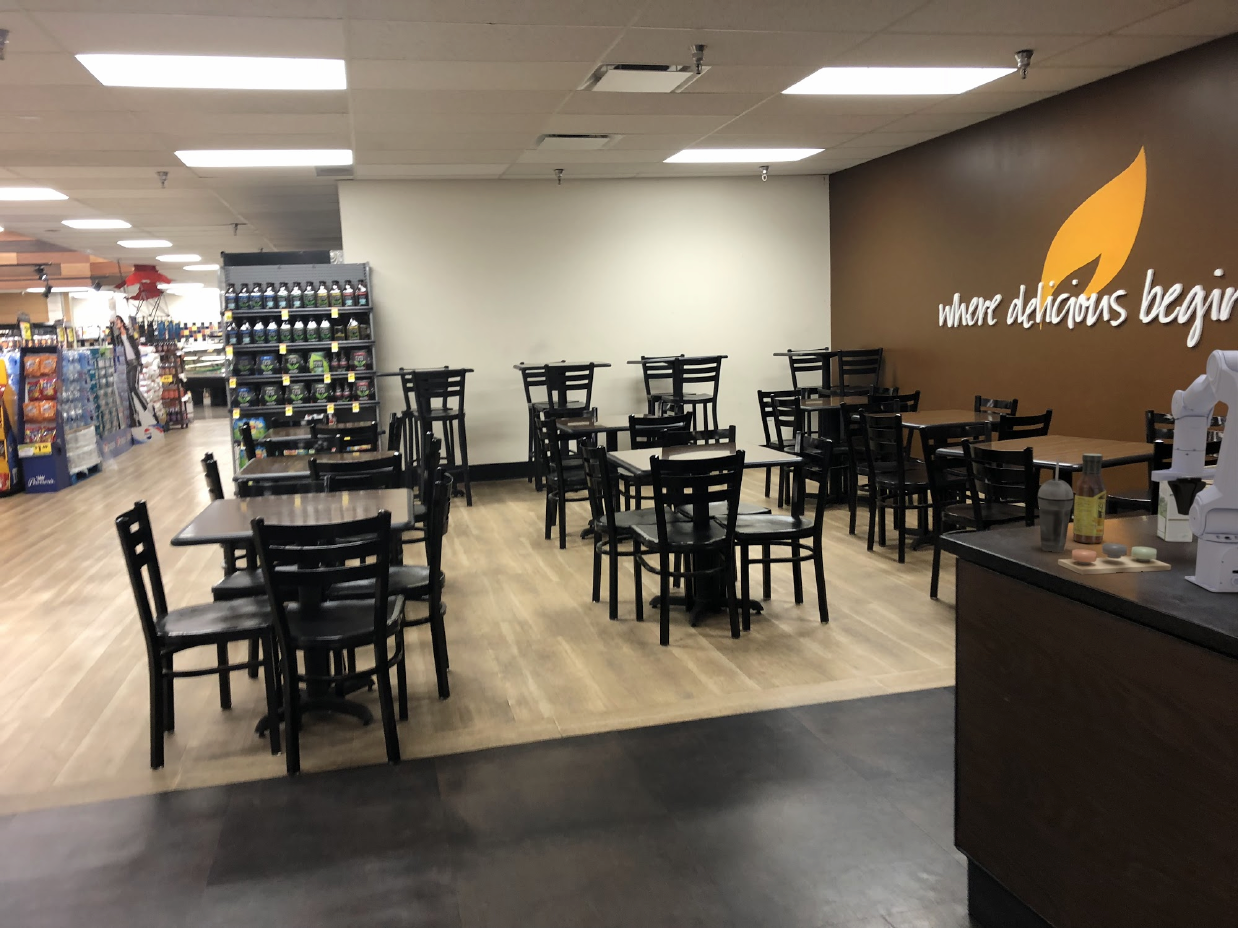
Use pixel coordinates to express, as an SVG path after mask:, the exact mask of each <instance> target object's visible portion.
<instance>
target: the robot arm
mask: <svg viewBox="0 0 1238 928" xmlns="http://www.w3.org/2000/svg"><path fill="white" fill-rule="evenodd" d="M1205 370H1206V372H1205V373H1206V374H1200V375H1199V377H1197V378H1196V379H1195V380H1194V381H1193V382H1192V383H1191V384H1190V385H1189V386H1188V387H1187V389H1185V390H1180V389H1177V390H1175V392H1174V393H1173V395H1172V400H1171V407H1170V408H1171V414H1172V418H1173V419H1174V430H1173V445H1172V458H1171V459H1172V461H1171V467H1170V468H1169V469H1162V470H1161V469H1160V470H1152V471H1151V481H1154V482H1157V483H1158V482H1159V483H1160V482H1162V481H1168V482H1167V483H1168V485H1169V487H1170V489H1171V491H1172V493H1173V495H1174V498H1175V501H1176V506H1177V511H1178V514H1181V515H1189V527H1190V529H1191V531H1192V535H1195V536H1196V537H1198V538H1197V550H1196V551H1197V553H1196V564H1195V575H1190V576H1189V575H1187V576H1184V579H1185V580H1187V581H1189V582H1191V583H1193V584H1196V585H1198V586H1200V587H1202V588H1203V589H1205V590H1208V591H1210V592H1212V593H1238V350H1220V349H1215V350H1213V351H1212V352H1211V353H1210V355H1209V356H1208V358H1207V361H1206V369H1205ZM1219 401H1220V402H1222V403H1223V404H1226V406H1227V407H1228V410H1227V414H1226V420H1225V424H1224V428H1223V434H1222V439H1221V443H1220V448H1219V453H1218V459H1217V462H1216V468H1205V461H1206V448H1207V433H1208V429H1209V428H1211V421H1212V418H1213V413H1214V412H1215V411H1214V410H1215V405H1216V404H1218V402H1219ZM1182 476H1183V477H1182ZM1203 480H1204V481H1203ZM1205 480H1213V483H1212V484H1211V485H1210V486H1208V487H1207V482H1206V481H1205Z"/></svg>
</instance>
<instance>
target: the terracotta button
mask: <svg viewBox="0 0 1238 928" xmlns="http://www.w3.org/2000/svg"><path fill="white" fill-rule="evenodd" d="M1071 551H1072V552H1071V559H1073V560H1075V561H1077V563H1078V564H1081V565H1090V564H1091V562H1095V561H1096V558H1098V557H1097V554H1098V553H1097V551H1095V550H1091V549H1083V548H1081V549H1080V548H1078V549H1077V548H1076V549H1072V550H1071Z"/></svg>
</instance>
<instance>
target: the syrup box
mask: <svg viewBox="0 0 1238 928" xmlns="http://www.w3.org/2000/svg"><path fill="white" fill-rule="evenodd" d="M1182 477H1183V476H1182ZM1167 482H1168V481H1162V482H1159V490H1158V491H1159V492H1158V506H1157V507H1158V509H1157V510H1158V511H1157V525H1156V526H1157V527H1156V536H1157V537H1159V538H1160V539H1162V540H1163V541H1165V542H1172V543H1192V541H1193V532H1192V531H1191V529H1190V527H1189V515H1181V514H1178V511H1177V506H1176V501H1175V498H1174V495H1173V493H1172V491H1171V489H1170V487H1169V485H1168V483H1167Z"/></svg>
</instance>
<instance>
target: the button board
mask: <svg viewBox="0 0 1238 928" xmlns="http://www.w3.org/2000/svg"><path fill="white" fill-rule="evenodd" d="M1057 565H1058V566H1060V567H1063V568H1065V569H1068V570H1070V571H1072V572H1075V573H1077V574H1080V575H1082V576H1083V575H1098V574H1101V575H1102V574H1117V573H1116V572H1123V573H1141V571H1143V572H1157V571H1158V572H1159V571H1160V572H1161V571H1171V569H1172V568H1171V567H1172V565H1171V564H1168V563H1166V562H1162V561H1160V560H1157V559H1150V562H1140V561H1137V558H1134V557H1132V556H1131V555H1130V556H1128V555H1125V556H1121V558H1119V559H1115V558H1109V557H1107V556H1106V557H1096V561H1095V562H1091V564H1090V565H1081V564H1078V563H1077V561H1075V560H1073V559H1072V558H1067V559H1066V558H1065V559H1058V560H1057Z"/></svg>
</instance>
